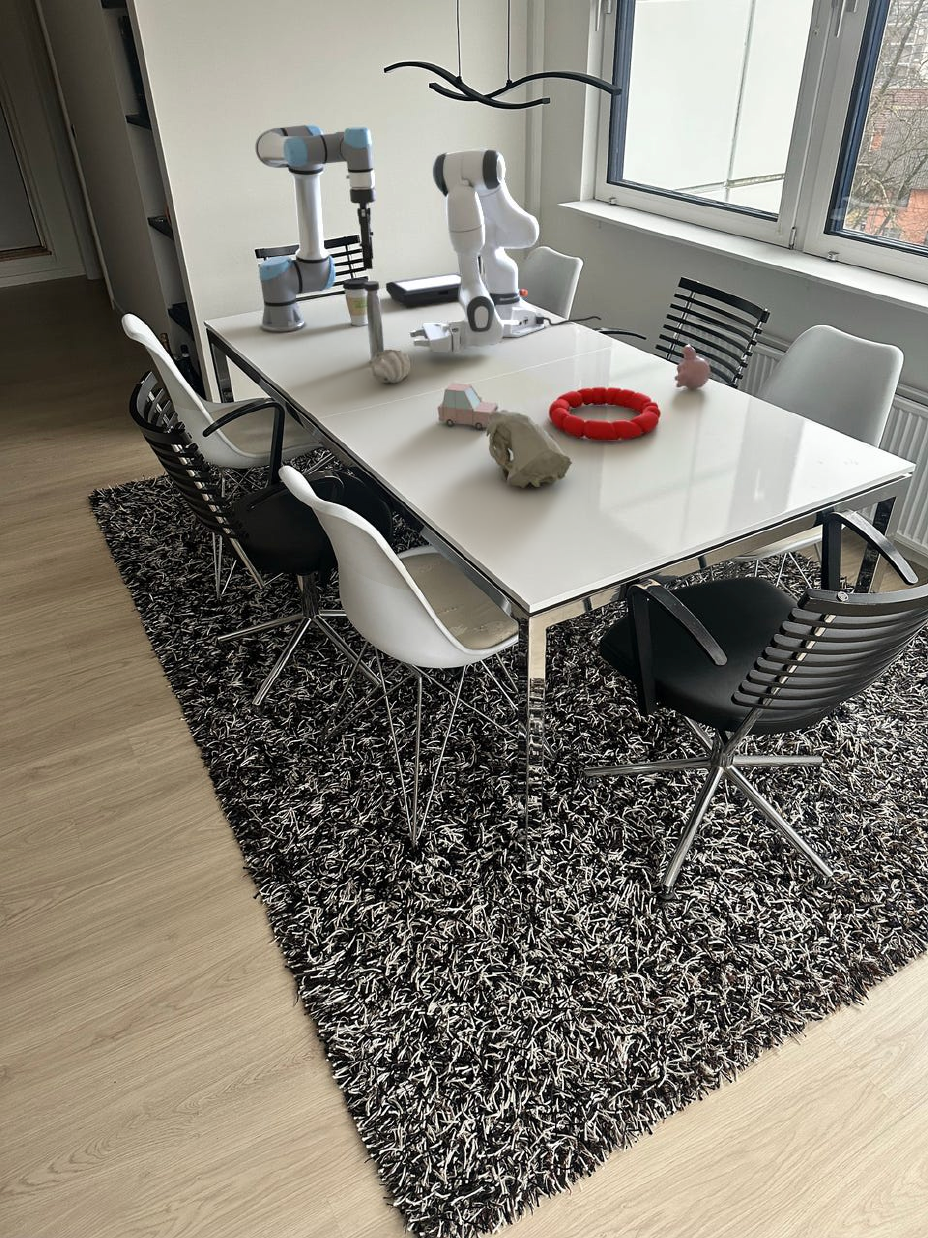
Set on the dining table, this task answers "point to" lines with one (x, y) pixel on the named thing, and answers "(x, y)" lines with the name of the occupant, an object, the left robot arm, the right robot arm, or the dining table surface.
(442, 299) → the electronic device
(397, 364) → the seashell
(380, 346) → the bottle
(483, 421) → the toy car
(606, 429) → the decorative ring
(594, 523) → the dining table surface
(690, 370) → the figurine
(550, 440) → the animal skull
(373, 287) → the cap
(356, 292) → the coffee cup
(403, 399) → the dining table surface
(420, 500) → the dining table surface
